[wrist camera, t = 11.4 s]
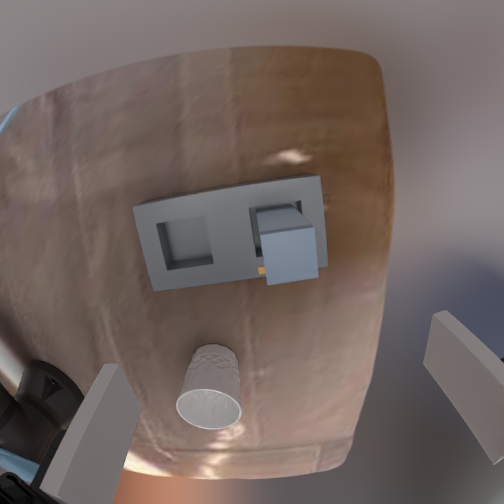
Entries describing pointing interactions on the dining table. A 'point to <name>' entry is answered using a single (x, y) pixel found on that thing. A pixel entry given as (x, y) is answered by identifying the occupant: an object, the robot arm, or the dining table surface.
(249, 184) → the panel
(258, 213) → the plug
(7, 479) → the robot arm
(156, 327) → the dining table surface
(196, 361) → the white cup
